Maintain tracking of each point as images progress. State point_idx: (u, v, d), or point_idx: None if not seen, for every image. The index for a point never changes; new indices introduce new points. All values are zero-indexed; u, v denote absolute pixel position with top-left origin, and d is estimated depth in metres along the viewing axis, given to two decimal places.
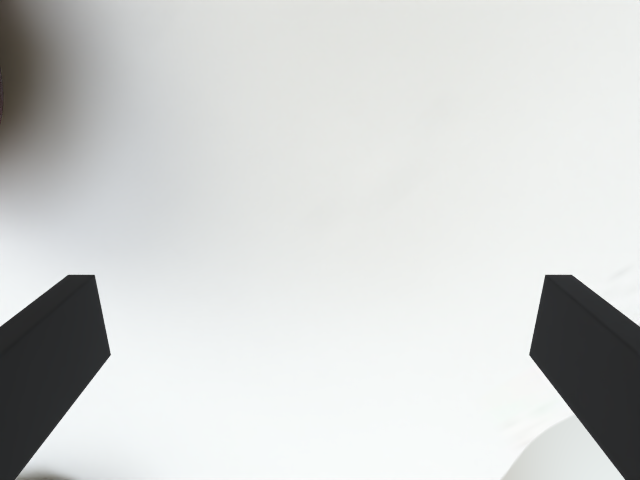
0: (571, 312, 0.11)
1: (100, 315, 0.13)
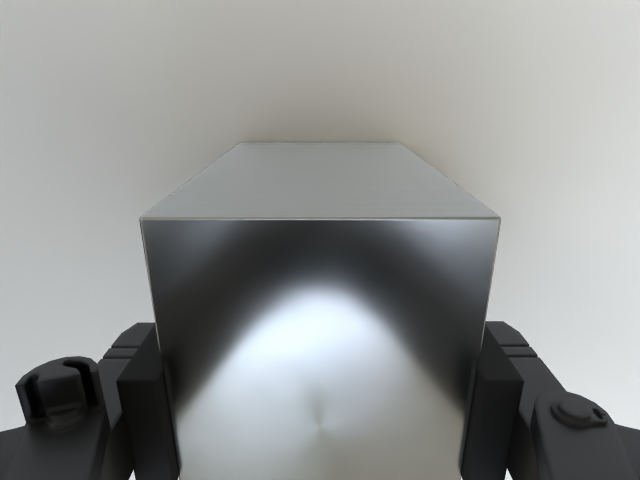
0: None
1: None
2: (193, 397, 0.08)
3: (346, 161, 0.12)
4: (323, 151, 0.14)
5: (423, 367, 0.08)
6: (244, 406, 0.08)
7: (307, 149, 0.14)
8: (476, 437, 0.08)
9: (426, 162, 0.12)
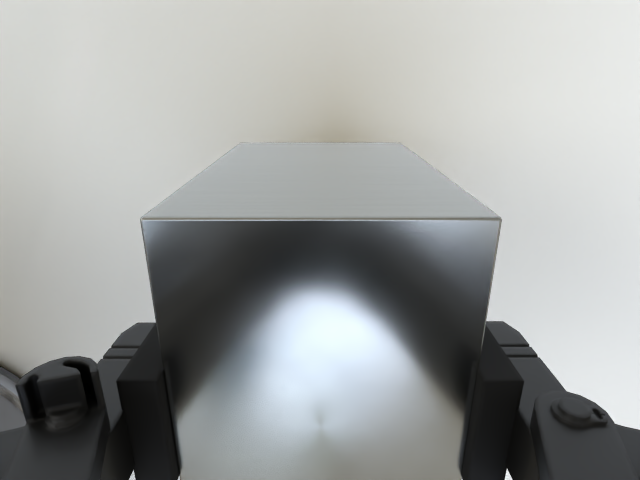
0: None
1: None
2: (194, 398, 0.08)
3: (346, 161, 0.12)
4: (323, 151, 0.14)
5: (424, 367, 0.08)
6: (245, 407, 0.08)
7: (307, 149, 0.14)
8: (476, 437, 0.08)
9: (426, 162, 0.12)
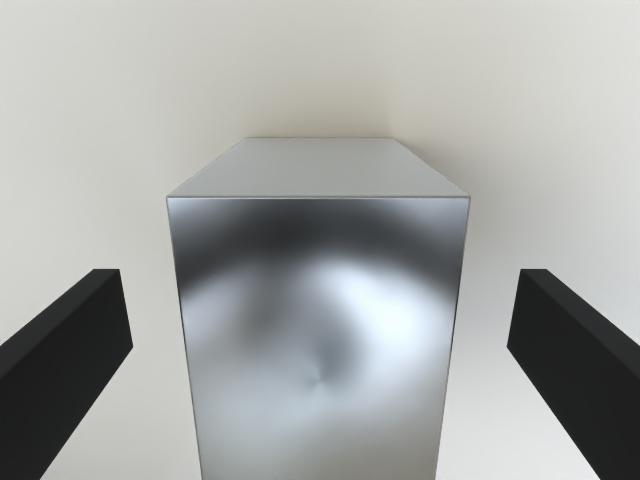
0: (543, 305, 0.11)
1: (124, 308, 0.13)
2: (209, 354, 0.10)
3: (342, 153, 0.13)
4: (322, 145, 0.15)
5: (407, 327, 0.09)
6: (253, 363, 0.10)
7: (307, 144, 0.15)
8: None
9: (414, 154, 0.13)
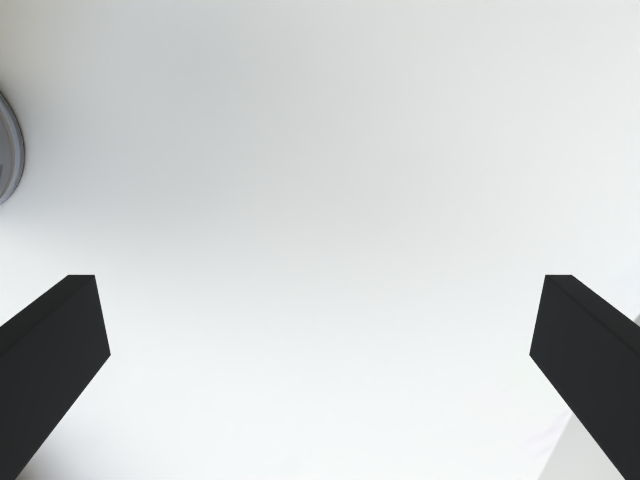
0: (571, 313, 0.11)
1: (101, 315, 0.13)
2: None
3: None
4: None
5: None
6: None
7: None
8: None
9: None
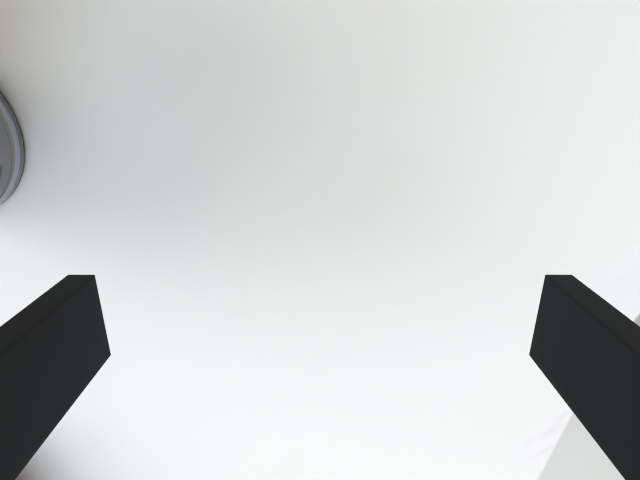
0: (571, 313, 0.11)
1: (101, 315, 0.13)
2: None
3: None
4: None
5: None
6: None
7: None
8: None
9: None
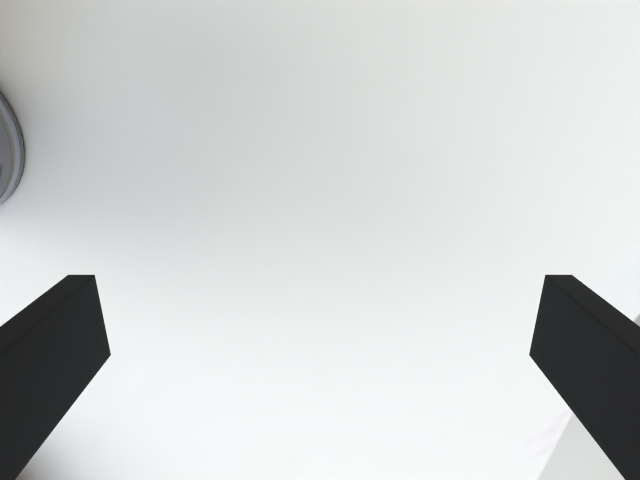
0: (571, 313, 0.11)
1: (101, 315, 0.13)
2: None
3: None
4: None
5: None
6: None
7: None
8: None
9: None
